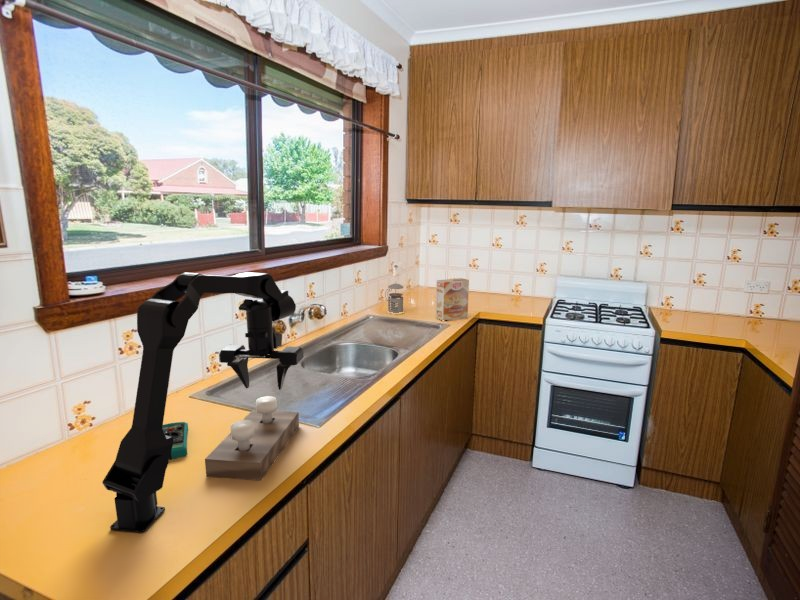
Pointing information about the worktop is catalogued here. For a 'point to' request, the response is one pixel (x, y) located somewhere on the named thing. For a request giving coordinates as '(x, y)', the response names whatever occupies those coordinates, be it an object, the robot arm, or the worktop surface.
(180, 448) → the digital multimeter
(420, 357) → the worktop surface
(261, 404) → the far knob
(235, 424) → the near knob
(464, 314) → the coffeecake box
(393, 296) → the french press
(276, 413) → the brown wooden board
